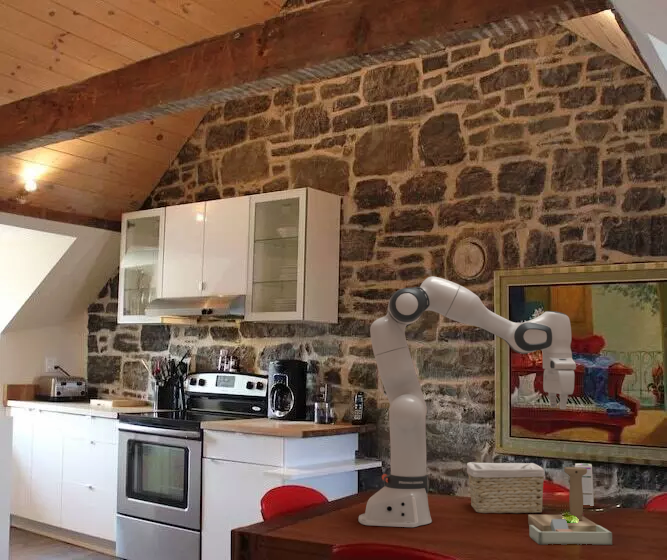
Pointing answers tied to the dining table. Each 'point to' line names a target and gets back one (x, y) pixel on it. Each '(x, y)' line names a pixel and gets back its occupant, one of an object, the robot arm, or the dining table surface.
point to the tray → (572, 537)
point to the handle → (576, 490)
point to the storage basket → (506, 487)
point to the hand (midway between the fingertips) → (558, 408)
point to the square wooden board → (545, 520)
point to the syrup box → (587, 484)
